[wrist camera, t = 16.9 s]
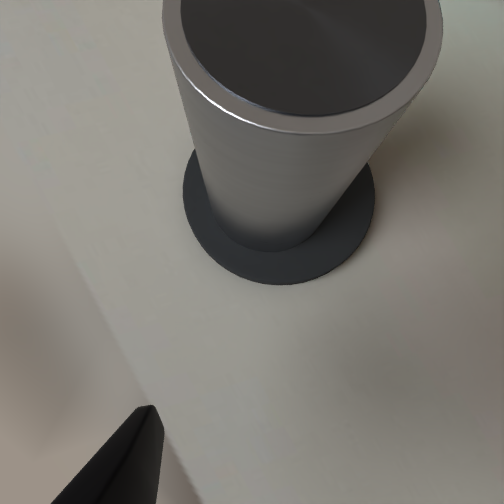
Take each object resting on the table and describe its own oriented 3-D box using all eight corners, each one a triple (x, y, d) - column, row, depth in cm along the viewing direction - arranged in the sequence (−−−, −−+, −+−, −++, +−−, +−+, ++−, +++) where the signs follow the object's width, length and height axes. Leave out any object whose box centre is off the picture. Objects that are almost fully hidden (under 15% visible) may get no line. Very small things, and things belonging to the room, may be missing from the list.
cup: (348, 220, 16) (521, 43, 6) (242, 273, 16) (240, 171, 5) (266, 85, 18) (296, -230, 8) (167, 126, 17) (58, -162, 7)
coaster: (296, 326, 16) (299, 326, 15) (146, 205, 17) (141, 199, 16) (404, 181, 18) (412, 175, 17) (262, 82, 19) (263, 71, 18)
